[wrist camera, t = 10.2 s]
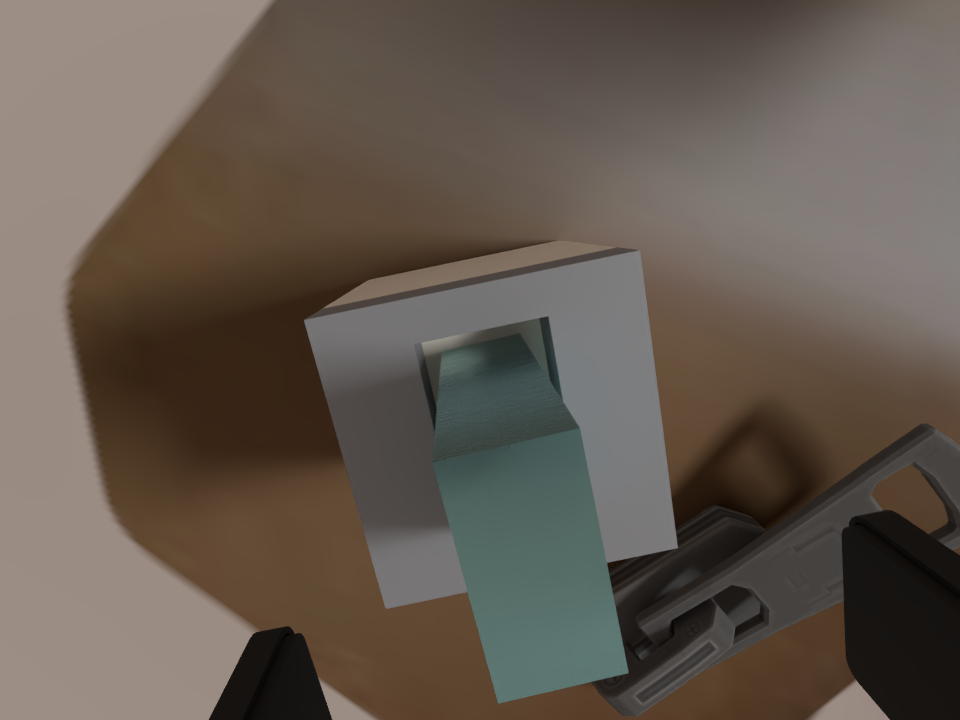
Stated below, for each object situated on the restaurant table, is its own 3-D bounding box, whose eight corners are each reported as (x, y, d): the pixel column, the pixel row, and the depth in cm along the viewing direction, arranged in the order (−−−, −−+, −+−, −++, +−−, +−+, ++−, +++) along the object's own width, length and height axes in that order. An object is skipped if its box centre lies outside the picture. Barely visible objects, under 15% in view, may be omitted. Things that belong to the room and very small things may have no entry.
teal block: (519, 333, 20) (580, 427, 11) (550, 475, 22) (628, 673, 12) (441, 351, 20) (432, 462, 11) (478, 493, 22) (498, 703, 12)
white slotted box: (557, 240, 31) (639, 250, 17) (586, 419, 34) (677, 548, 20) (368, 279, 31) (303, 320, 17) (412, 455, 34) (385, 609, 20)
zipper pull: (1023, 527, 29) (659, 785, 32) (921, 473, 36) (625, 693, 39) (943, 411, 28) (564, 696, 31) (850, 376, 34) (545, 615, 37)
